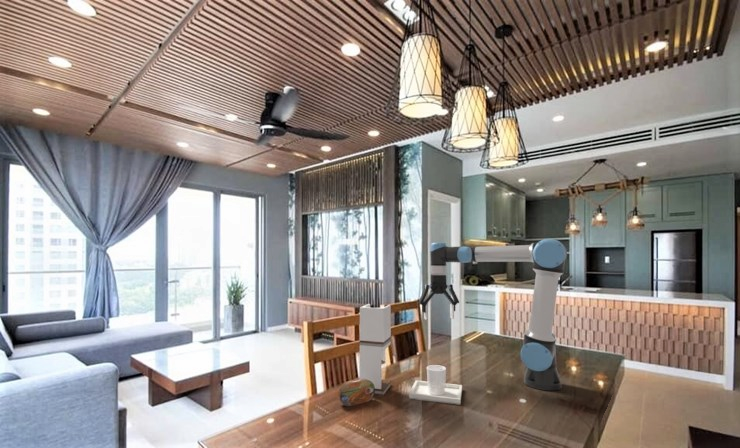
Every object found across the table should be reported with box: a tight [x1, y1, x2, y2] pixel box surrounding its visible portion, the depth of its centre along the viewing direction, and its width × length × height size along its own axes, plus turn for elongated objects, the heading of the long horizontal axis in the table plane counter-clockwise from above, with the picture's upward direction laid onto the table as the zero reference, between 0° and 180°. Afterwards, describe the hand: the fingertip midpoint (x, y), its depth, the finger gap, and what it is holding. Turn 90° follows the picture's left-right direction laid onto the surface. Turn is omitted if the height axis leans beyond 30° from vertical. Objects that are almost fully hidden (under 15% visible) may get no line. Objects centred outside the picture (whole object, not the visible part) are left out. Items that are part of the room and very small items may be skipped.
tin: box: [337, 379, 375, 407], centre depth 142 cm, size 15×3×8 cm, turn 118°
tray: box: [408, 379, 463, 406], centre depth 151 cm, size 20×16×2 cm
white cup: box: [426, 364, 447, 395], centre depth 151 cm, size 8×8×10 cm
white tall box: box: [358, 303, 392, 396], centre depth 158 cm, size 11×11×35 cm
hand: (439, 318), depth 175 cm, fingers open, 13 cm apart
